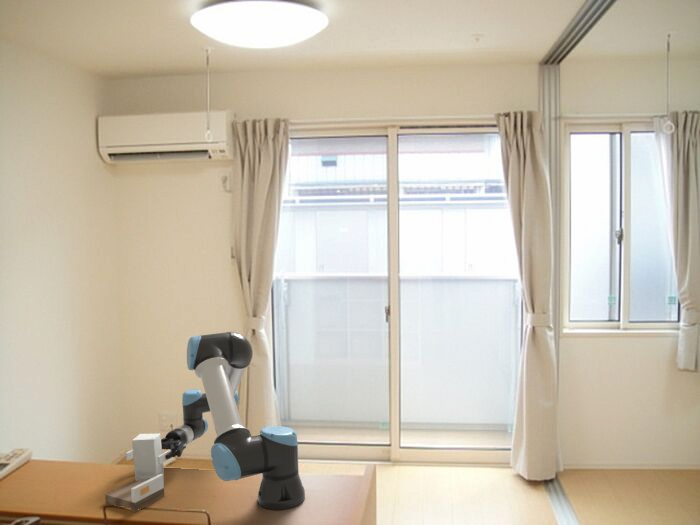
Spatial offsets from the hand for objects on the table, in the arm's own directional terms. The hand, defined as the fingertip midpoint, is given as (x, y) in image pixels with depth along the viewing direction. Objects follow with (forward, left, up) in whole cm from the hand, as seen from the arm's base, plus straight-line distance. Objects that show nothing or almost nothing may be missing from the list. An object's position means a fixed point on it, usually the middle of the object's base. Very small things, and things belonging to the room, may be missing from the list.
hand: (142, 458), depth 206 cm
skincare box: (0, -3, -9) cm, 9 cm away
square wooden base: (-9, +11, -8) cm, 16 cm away
